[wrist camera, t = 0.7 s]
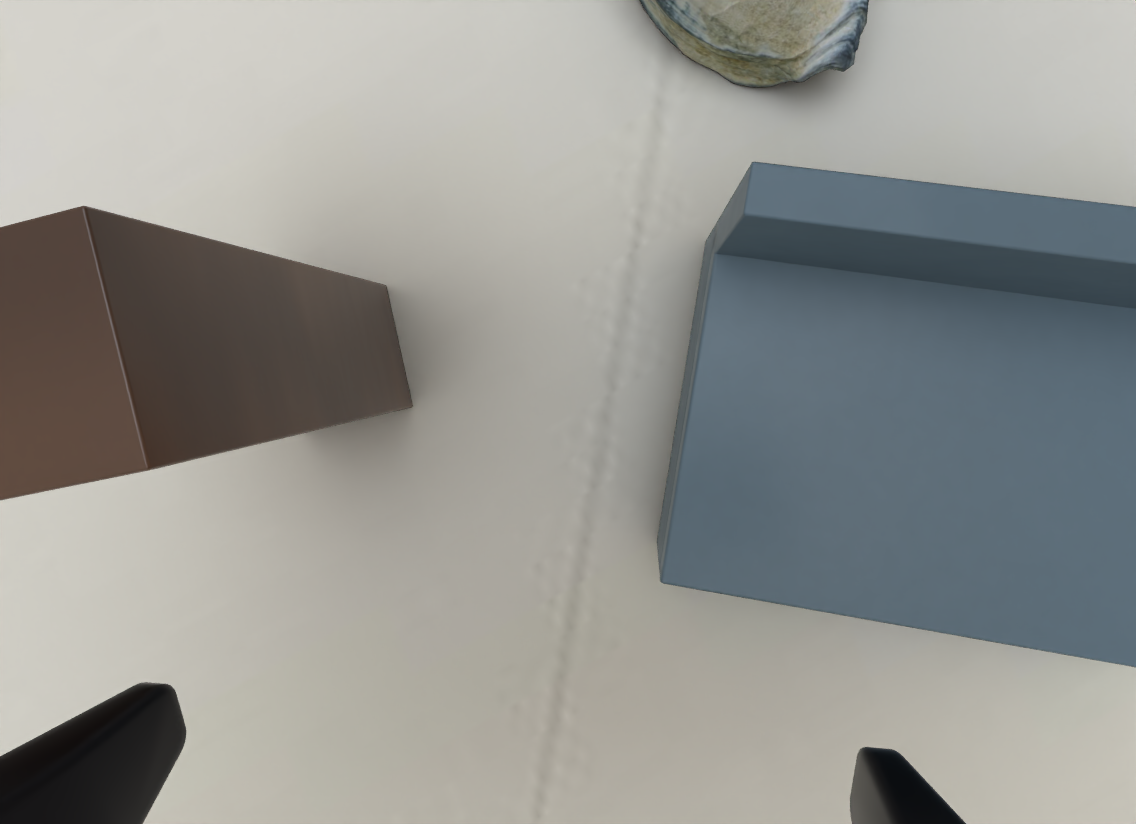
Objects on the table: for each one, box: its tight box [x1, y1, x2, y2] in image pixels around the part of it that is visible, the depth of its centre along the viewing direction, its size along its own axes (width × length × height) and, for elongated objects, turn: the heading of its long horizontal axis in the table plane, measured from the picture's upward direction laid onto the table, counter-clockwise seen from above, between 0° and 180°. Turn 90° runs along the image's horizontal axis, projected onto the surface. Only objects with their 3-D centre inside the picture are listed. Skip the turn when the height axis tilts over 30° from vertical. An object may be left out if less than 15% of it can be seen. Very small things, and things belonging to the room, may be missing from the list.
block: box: [0, 206, 412, 500], centre depth 17 cm, size 4×4×12 cm
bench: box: [657, 162, 1136, 667], centre depth 17 cm, size 10×15×9 cm, turn 82°
